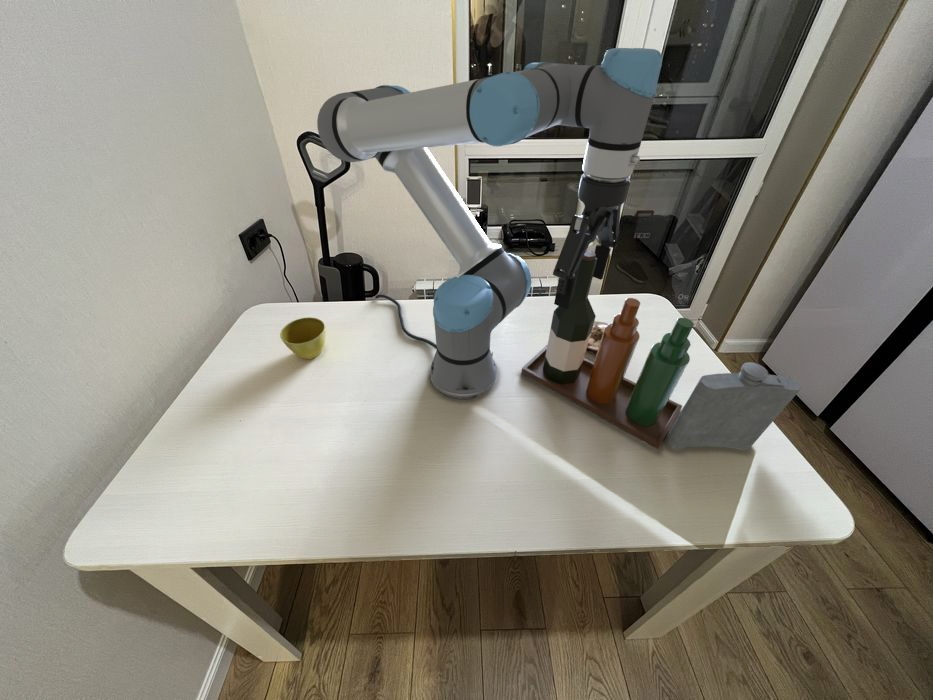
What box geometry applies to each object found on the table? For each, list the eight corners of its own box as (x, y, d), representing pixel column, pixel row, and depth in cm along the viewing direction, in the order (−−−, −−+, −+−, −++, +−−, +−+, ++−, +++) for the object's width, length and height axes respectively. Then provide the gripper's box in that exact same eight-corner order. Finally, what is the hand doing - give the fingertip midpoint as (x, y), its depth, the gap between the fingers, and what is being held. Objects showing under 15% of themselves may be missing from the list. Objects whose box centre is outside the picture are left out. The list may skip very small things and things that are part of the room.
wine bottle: (579, 387, 84) (614, 267, 64) (541, 381, 85) (564, 262, 65) (579, 362, 90) (611, 245, 70) (543, 357, 91) (565, 241, 71)
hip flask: (667, 450, 73) (712, 378, 59) (660, 433, 76) (701, 360, 62) (751, 452, 72) (815, 380, 59) (740, 434, 75) (798, 362, 62)
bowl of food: (558, 349, 95) (560, 336, 92) (576, 318, 104) (579, 306, 102) (618, 369, 89) (623, 357, 86) (631, 335, 99) (635, 322, 96)
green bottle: (619, 415, 78) (658, 323, 62) (632, 397, 82) (672, 306, 66) (650, 432, 75) (700, 339, 59) (662, 412, 79) (711, 321, 63)
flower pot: (298, 372, 89) (288, 349, 84) (283, 350, 95) (274, 328, 90) (338, 354, 93) (331, 332, 89) (322, 334, 99) (314, 312, 95)
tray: (520, 375, 88) (521, 368, 86) (549, 348, 95) (550, 341, 94) (656, 451, 72) (660, 445, 71) (678, 412, 80) (682, 405, 78)
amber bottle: (580, 394, 83) (607, 303, 67) (594, 378, 86) (622, 288, 70) (608, 408, 79) (643, 317, 63) (620, 391, 83) (657, 300, 67)
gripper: (591, 203, 50) (563, 328, 64) (659, 161, 64) (625, 272, 78) (542, 190, 54) (527, 311, 68) (617, 153, 68) (591, 260, 82)
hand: (579, 290), depth 73 cm, fingers open, 13 cm apart
